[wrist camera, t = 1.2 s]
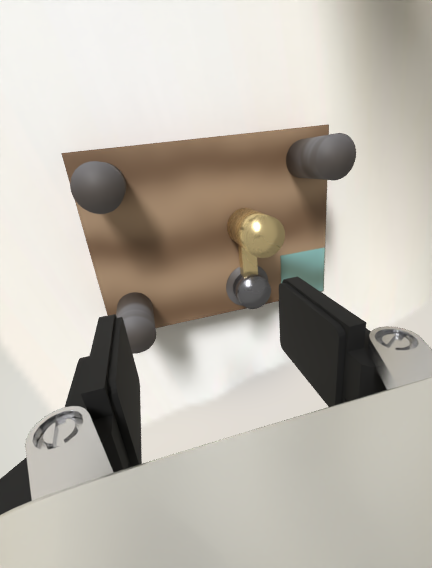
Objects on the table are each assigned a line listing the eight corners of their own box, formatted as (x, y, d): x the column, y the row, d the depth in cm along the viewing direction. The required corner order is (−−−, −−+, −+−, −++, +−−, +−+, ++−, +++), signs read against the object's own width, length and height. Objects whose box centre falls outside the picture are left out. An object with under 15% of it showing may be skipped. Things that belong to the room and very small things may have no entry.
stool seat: (69, 154, 25) (42, 149, 18) (310, 128, 29) (369, 115, 22) (115, 322, 31) (109, 369, 24) (309, 281, 35) (354, 311, 28)
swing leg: (264, 297, 31) (286, 320, 26) (234, 304, 30) (252, 328, 25) (259, 205, 27) (284, 213, 22) (225, 210, 26) (243, 219, 22)
